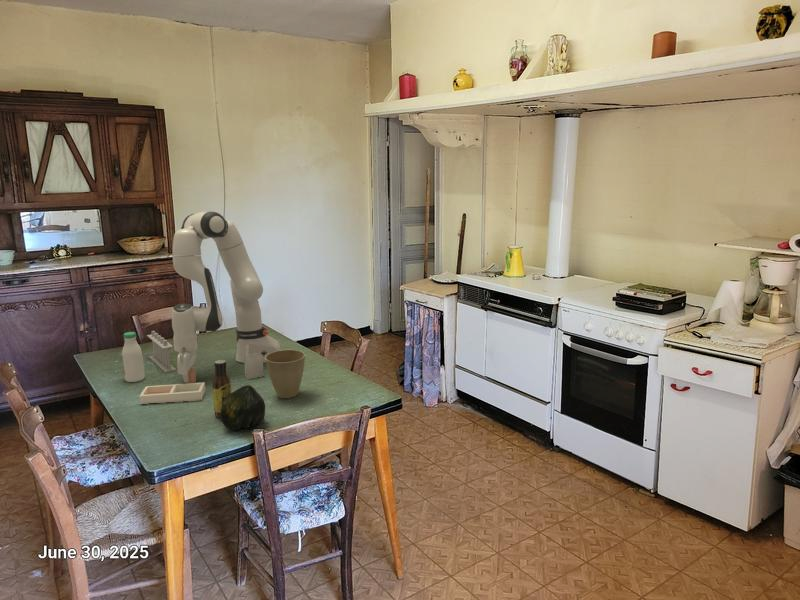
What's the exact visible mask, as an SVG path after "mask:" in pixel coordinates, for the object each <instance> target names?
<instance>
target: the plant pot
mask: <svg viewBox="0 0 800 600" xmlns="http://www.w3.org/2000/svg"><path fill="white" fill-rule="evenodd" d="M305 358H306V353H304V352H303V351H301V350H297V349H281V350H279V351H275V352H272V353H269V354H267V355H266V356H265V361H266V363H265V364H266V369H267V372H268V375H269V378H270V382H271V384H272V386H273V388H274V391H275V393H276V395H277V397H278V398H280V399H283V398H288V399H291V398H290V397H293V398H294V396H295V397H296V395H297V396H298V395H299V394H298V393H299V391H300V387H301V383H302V378H303V373H304V369H305V360H306V359H305Z"/></svg>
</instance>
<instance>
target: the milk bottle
mask: <svg viewBox="0 0 800 600" xmlns="http://www.w3.org/2000/svg"><path fill="white" fill-rule="evenodd" d="M123 340H124V344H123V346H122V347H123V348H122V351H121V358H122V367H123V375H124V380H125V382H127V383H136V382H140V381H142V380H143V381H144V379H145V378H146V373H145V366H144V365H145V363H144V358H143V352H142V351H143V350H142V349H141V346H140V344H138V342H137V333H136V332H135V331H127V332H124V333H123Z"/></svg>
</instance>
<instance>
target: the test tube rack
mask: <svg viewBox="0 0 800 600" xmlns="http://www.w3.org/2000/svg"><path fill="white" fill-rule="evenodd" d="M146 337H148V338H149V339H150V340H151V342H152V343H151V344H152V351H153V355H150V356H148V358H149V357H150V358H151V359H152V360H153V361H154V362H155V363H156V364H155V363H154V362H153V361H152V360H151V359H150V358H149V359H150V360H151V361H152V362H153V363H154V364H155V365H156V366H158V367H159V368H160V369H161V370H162V371H163V372H164V373H166V374H167V373H170V372H175V371H176V369H177V368H175V367H174V366H173V365H172V364H171V361H170V352H169V349H171V348H174V345H172V344H171V343H170V342H169V341H168V339H165V337H162V336H161V334H160V335H159V333H157V332H156V331H155V330H151V334H147V335H146Z"/></svg>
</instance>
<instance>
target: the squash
mask: <svg viewBox="0 0 800 600" xmlns="http://www.w3.org/2000/svg"><path fill="white" fill-rule="evenodd" d="M265 415H266V403H265V401H264V398H263V397H262V396H261V395H260V394H259V393H258V391H256V389H255V388H254V387H253V386H252V385H249V384H247V385H244V386H241V387H240V388H237V389H236V390H234V391H231V394H229V395H228V396H226V397H225V399H224V401H223V404H222V408H221V417H220V419H221V422H222V424H223V426H224V427H226V428H227V429H232V430H234V431H237V430H241V428H243V429H248V428H251V427H255V426H258V425H261V424H262V422H263V421H264V420H265Z"/></svg>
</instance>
